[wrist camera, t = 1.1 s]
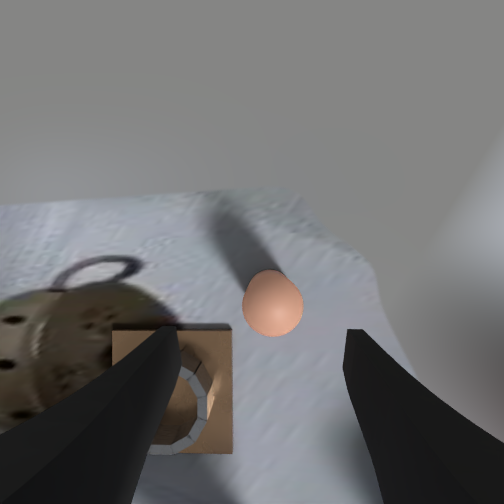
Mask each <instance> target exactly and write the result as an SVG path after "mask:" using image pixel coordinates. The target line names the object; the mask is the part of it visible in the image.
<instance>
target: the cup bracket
mask: <svg viewBox="0 0 504 504" xmlns="http://www.w3.org/2000/svg"><path fill="white" fill-rule="evenodd" d="M156 330H158V329H115V330H113V331H112V366H113V365H115V364H116V363H117V362H118V361H120V360H121V359H122V358H124V357H125V356H126V355H127V354H129V353H130V352H131V351H132V350H133V349H135V348H136V347H137V346H138V345H140V344H141V343H142V342H143V341H144V340H146V339H147V338H148V337H149V336H150V335H152V334H153V333H154V332H155V331H156ZM176 330H177V336H178V342H179V347H180V353H181V359H182V365H181V369H180V373H179V376H178V379H177V383H176V386H175V389H174V391H173V394H172V396H171V398H170V401H169V403H168V405H167V408H166V410H165V412H164V415H163V417H162V419H161V422H160V424H159V426H158V429H157V431H156V433H155V436H154V438H153V440H152V443H151V445H150V448H149V451H148V453H149V452H150V455H173V453H174V455H175V454H176V453H209V454H232V453H233V372H232V329H176ZM148 453H147V454H148Z"/></svg>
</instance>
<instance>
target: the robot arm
mask: <svg viewBox="0 0 504 504" xmlns="http://www.w3.org/2000/svg"><path fill="white" fill-rule="evenodd" d="M181 365H182V359H181V353H180V347H179V342H178V336H177V330H176V326H161V327H160V328H159V329H158V330H156V331H155V332H154V333H153V334H152V335H150V336H149V337H148V338H147V339H146V340H144V341H143V342H142V343H141V344H140V345H138V346H137V347H136V348H135V349H133V350H132V351H131V352H130V353H129V354H127V355H126V356H125V357H124V358H122V359H121V360H120V361H118V362H117V363H116V364H115V365H113V366H112V367H111V368H109V369H108V370H107V371H105V372H104V373H103V374H101V375H100V376H99V377H97V378H96V379H94V380H93V381H92V382H90V383H89V384H87V385H86V386H84V387H83V388H81V389H80V390H78V391H77V392H75V393H73V394H72V395H70V396H69V397H67V398H66V399H64V400H62V401H61V402H59V403H57V404H55V405H54V406H52V407H50V408H49V409H47V410H45V411H43V412H42V413H40V414H38V415H37V416H35V417H33V418H31V419H29V420H28V421H26V422H24V423H22V424H20V425H18V426H16V427H14V428H13V429H11V430H9V431H7V432H5V433H3V434H1V435H0V504H131V502H132V499H133V496H134V492H135V489H136V486H137V483H138V480H139V477H140V474H141V471H142V468H143V465H144V462H145V459H146V456H147V453H148V451H149V448H150V445H151V443H152V440H153V438H154V436H155V433H156V431H157V429H158V426H159V424H160V422H161V419H162V417H163V415H164V412H165V410H166V408H167V405H168V403H169V401H170V398H171V396H172V394H173V391H174V389H175V386H176V383H177V379H178V376H179V373H180V369H181ZM343 372H344V376H345V381H346V385H347V389H348V393H349V396H350V399H351V402H352V405H353V408H354V411H355V413H356V416H357V419H358V422H359V425H360V427H361V430H362V433H363V436H364V439H365V441H366V444H367V447H368V450H369V453H370V456H371V459H372V462H373V465H374V468H375V472H376V476H377V479H378V483H379V487H380V491H381V494H382V498H383V502H384V504H504V443H503V442H501V441H500V440H498V439H496V438H495V437H493V436H492V435H491V434H489V433H488V432H486V431H484V430H483V429H481V428H480V427H478V426H477V425H475V424H474V423H472V422H471V421H470V420H468V419H467V418H465V417H464V416H463V415H461V414H460V413H458V412H457V411H456V410H454V409H453V408H452V407H450V406H449V405H448V404H446V403H445V402H443V401H442V400H441V399H439V398H438V397H437V396H436V395H435V394H433V393H432V392H431V391H429V390H428V389H427V388H426V387H425V386H424V385H422V384H421V383H420V382H419V381H418V380H416V379H415V378H414V377H413V376H412V375H410V374H409V373H408V372H407V371H406V370H405V369H404V368H403V367H401V366H400V365H399V364H398V363H397V362H396V361H395V360H394V359H393V358H392V357H391V356H390V355H389V354H387V353H386V352H385V351H384V350H383V349H382V348H381V347H380V346H379V345H378V344H377V343H376V342H375V341H374V340H373V339H372V338H371V337H370V336H369V335H368V334H367V333H366V332H365V331H364V330H363V329H347V336H346V344H345V352H344V360H343Z"/></svg>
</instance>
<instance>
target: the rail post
mask: <svg viewBox="0 0 504 504" xmlns="http://www.w3.org/2000/svg"><path fill="white" fill-rule="evenodd" d="M242 310H243V314H244V317H245V319H246V321H247V323H248V324H249V326H250V327H251V328H252V329H253V330H255V331H256V332H258V333H260V334H262V335H265V336H271V337H275V336H281V335H284V334H286V333H288V332H290V331H291V330H292V329H294V328H295V327H296V325H297V324H298V323H299V321H300V319H301V317H302V313H303V300H302V296H301V294H300V292H299V290H298V288H297V287H296V286H295V285H294V284H293V283H292V282H291V281H290V280H289V279H288V278H287V277H286V276H285V275H283V274H282V273H281V272H279V271H276V270H263V271H261V272H259V273H257V274H256V275H255V276H254V277H253V278H252V279H251V281H250V283H249V285H248V288H247V290H246V292H245V294H244V297H243V302H242Z"/></svg>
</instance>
